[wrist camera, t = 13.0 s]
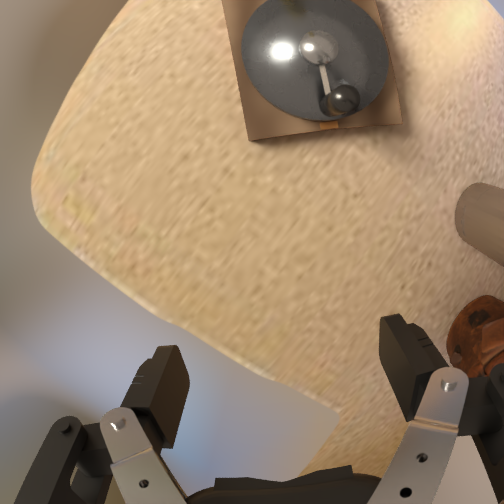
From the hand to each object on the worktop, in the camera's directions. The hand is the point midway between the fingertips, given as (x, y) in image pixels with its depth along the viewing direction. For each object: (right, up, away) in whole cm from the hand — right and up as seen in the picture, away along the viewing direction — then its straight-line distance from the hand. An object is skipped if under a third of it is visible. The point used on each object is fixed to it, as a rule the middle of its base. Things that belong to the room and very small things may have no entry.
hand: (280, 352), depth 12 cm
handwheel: (+6, +26, +18) cm, 32 cm away
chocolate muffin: (+37, -9, +32) cm, 49 cm away
